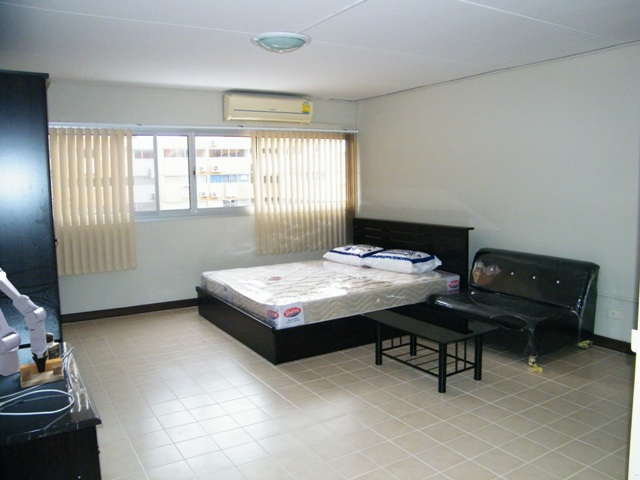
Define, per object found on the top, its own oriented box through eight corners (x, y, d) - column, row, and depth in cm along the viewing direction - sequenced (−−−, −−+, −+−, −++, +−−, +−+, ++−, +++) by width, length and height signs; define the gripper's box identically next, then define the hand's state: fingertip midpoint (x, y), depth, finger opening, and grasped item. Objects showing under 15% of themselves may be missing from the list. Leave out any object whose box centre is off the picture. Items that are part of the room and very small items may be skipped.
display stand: (21, 387, 200) (19, 376, 199) (20, 380, 207) (19, 369, 206) (64, 378, 207) (63, 368, 207) (62, 372, 214) (61, 361, 214)
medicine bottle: (49, 364, 224) (46, 337, 222) (35, 363, 225) (32, 336, 223) (60, 358, 231) (58, 332, 229) (46, 357, 232) (44, 331, 230)
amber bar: (21, 379, 209) (19, 368, 208) (20, 375, 212) (19, 365, 212) (62, 370, 216) (61, 360, 216) (61, 367, 220) (60, 357, 219)
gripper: (50, 340, 208) (53, 373, 210) (47, 331, 220) (51, 361, 222) (30, 344, 204) (33, 377, 206) (28, 334, 217) (32, 365, 219)
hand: (41, 369), depth 214 cm, fingers open, 5 cm apart
